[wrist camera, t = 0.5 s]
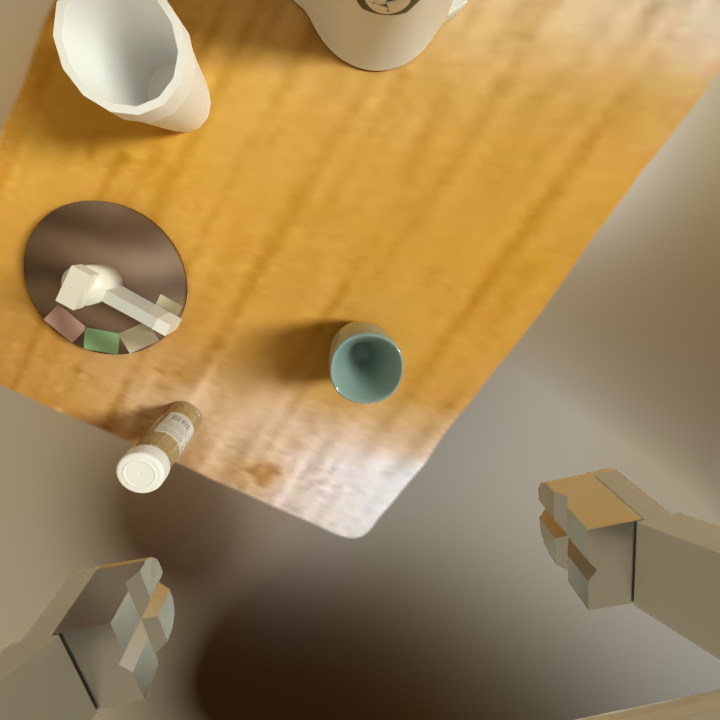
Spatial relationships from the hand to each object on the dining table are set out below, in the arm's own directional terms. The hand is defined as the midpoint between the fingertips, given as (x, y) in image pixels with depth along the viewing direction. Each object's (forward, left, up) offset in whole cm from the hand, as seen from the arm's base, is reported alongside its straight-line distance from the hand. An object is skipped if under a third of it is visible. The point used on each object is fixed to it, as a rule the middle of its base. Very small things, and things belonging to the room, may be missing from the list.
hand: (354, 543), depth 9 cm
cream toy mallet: (+1, -22, -42) cm, 47 cm away
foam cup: (-19, -16, -44) cm, 50 cm away
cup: (+7, +4, -44) cm, 44 cm away
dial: (0, -25, -43) cm, 50 cm away
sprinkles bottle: (+17, -18, -44) cm, 50 cm away
